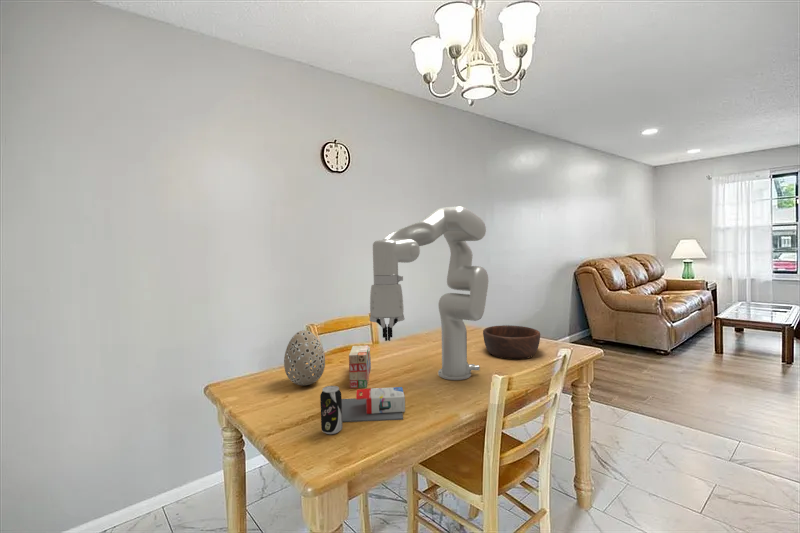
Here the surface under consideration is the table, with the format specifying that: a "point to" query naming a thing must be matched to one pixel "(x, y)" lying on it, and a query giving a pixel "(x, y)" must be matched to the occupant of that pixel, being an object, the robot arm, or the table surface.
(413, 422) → the table surface
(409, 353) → the table surface
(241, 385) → the table surface
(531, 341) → the wooden bowl
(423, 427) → the table surface
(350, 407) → the mat
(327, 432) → the beverage can
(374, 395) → the ink box
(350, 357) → the stack of blocks
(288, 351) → the ornament
